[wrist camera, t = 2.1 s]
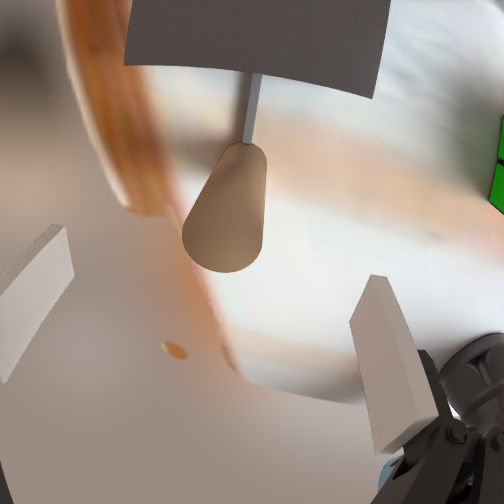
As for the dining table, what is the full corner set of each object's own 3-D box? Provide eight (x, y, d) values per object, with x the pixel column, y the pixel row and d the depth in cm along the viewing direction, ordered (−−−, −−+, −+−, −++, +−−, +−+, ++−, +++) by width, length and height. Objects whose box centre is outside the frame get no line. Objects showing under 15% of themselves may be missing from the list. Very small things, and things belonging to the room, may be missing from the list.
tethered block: (271, 190, 28) (269, 280, 17) (209, 180, 27) (167, 263, 16) (315, -51, 15) (346, -128, 4) (248, -60, 15) (228, -142, 4)
